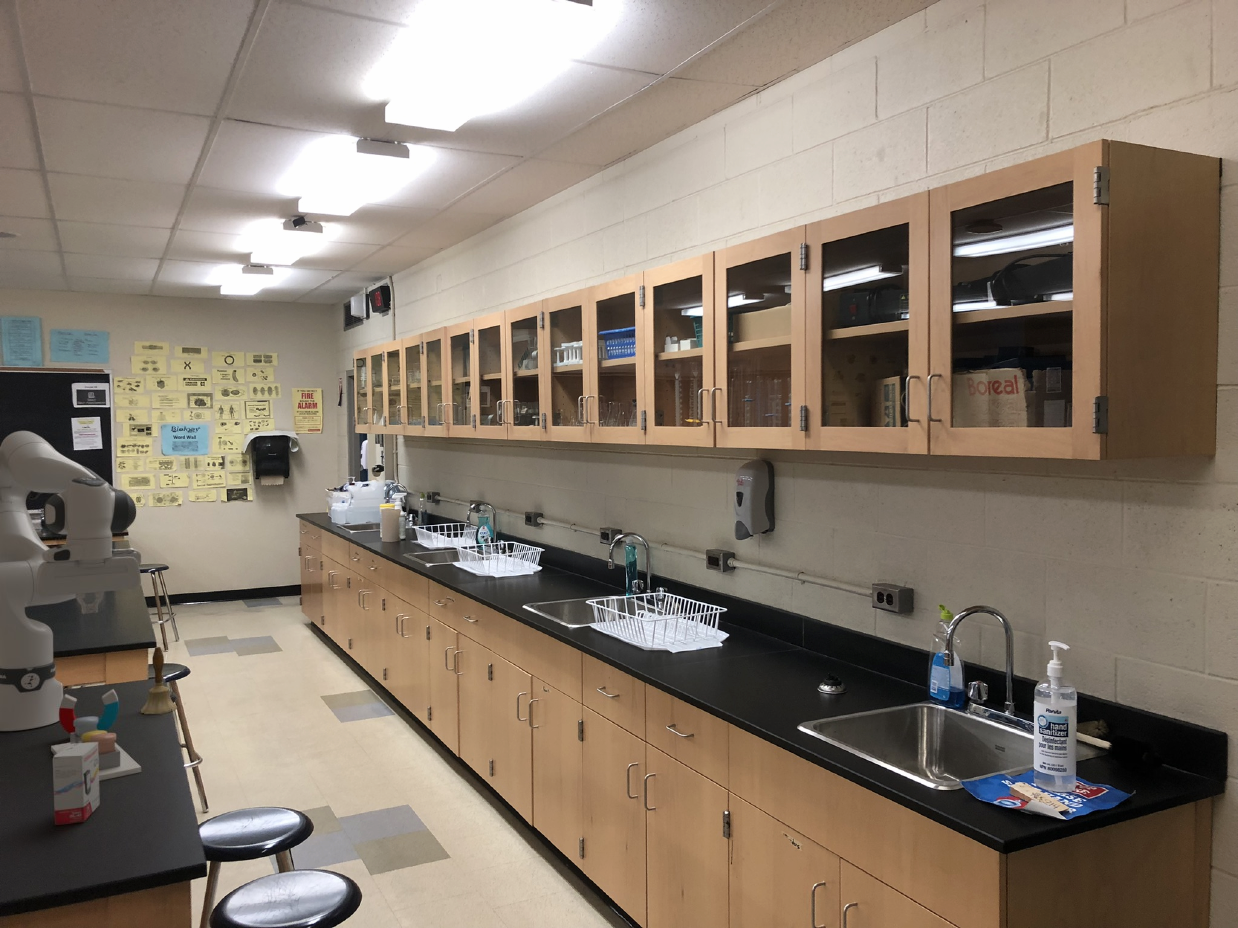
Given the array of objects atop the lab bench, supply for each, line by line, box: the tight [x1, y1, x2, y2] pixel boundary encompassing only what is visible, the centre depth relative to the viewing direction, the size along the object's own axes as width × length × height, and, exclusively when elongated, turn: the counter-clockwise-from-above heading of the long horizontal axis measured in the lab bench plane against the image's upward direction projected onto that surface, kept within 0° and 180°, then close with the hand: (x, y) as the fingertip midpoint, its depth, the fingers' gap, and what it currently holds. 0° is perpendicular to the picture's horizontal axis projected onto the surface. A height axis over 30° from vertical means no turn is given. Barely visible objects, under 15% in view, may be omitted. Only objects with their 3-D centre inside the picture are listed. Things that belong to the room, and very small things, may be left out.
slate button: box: [74, 716, 99, 737], centre depth 195 cm, size 5×5×4 cm
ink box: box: [52, 742, 101, 826], centre depth 160 cm, size 9×5×12 cm, turn 13°
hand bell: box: [140, 646, 178, 715], centre depth 228 cm, size 8×8×16 cm
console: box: [50, 729, 142, 782], centre depth 189 cm, size 28×11×4 cm, turn 42°
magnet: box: [59, 688, 120, 735], centre depth 206 cm, size 12×3×10 cm, turn 118°
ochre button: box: [82, 730, 108, 743], centre depth 189 cm, size 5×5×4 cm
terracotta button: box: [90, 732, 117, 755], centre depth 183 cm, size 5×5×4 cm
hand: (89, 612), depth 201 cm, fingers closed
